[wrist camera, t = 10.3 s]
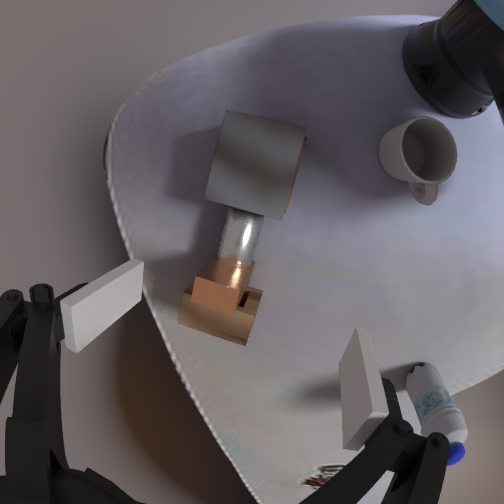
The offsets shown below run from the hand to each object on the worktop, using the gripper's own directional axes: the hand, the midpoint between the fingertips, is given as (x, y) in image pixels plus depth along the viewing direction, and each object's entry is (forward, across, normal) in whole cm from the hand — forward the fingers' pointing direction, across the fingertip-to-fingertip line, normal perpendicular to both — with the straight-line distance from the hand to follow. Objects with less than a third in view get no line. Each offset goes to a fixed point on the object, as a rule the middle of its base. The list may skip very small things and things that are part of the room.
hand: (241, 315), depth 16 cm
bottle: (+24, +30, -17) cm, 42 cm away
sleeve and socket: (+23, -5, 0) cm, 23 cm away
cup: (+24, +14, +13) cm, 31 cm away
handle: (+22, -5, -3) cm, 22 cm away
